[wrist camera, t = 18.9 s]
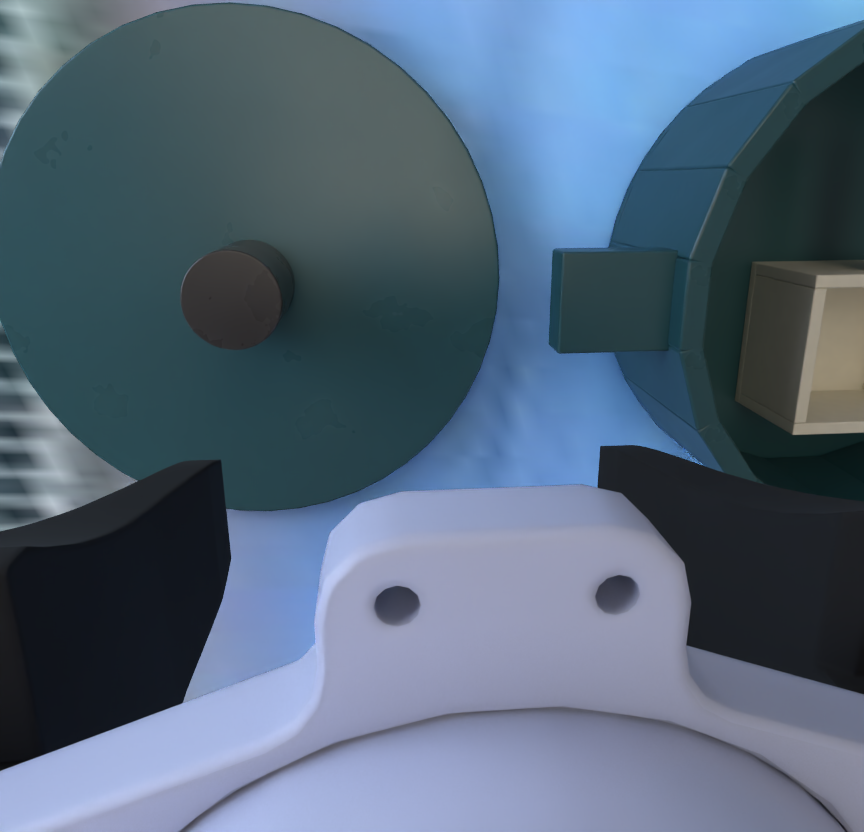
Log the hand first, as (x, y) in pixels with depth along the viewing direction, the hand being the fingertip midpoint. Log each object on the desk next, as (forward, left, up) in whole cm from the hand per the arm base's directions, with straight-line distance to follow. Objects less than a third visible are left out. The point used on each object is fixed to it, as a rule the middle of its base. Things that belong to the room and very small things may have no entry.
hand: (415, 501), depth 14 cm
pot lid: (+3, +4, -9) cm, 10 cm away
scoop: (+3, -13, -9) cm, 16 cm away
